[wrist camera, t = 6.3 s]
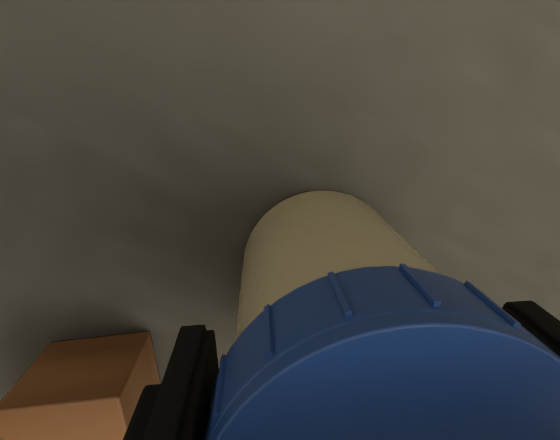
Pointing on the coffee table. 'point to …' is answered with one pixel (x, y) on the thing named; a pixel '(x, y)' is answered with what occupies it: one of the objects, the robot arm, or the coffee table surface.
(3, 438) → the block
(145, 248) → the coffee table surface
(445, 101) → the coffee table surface
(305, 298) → the lid
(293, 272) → the jar
